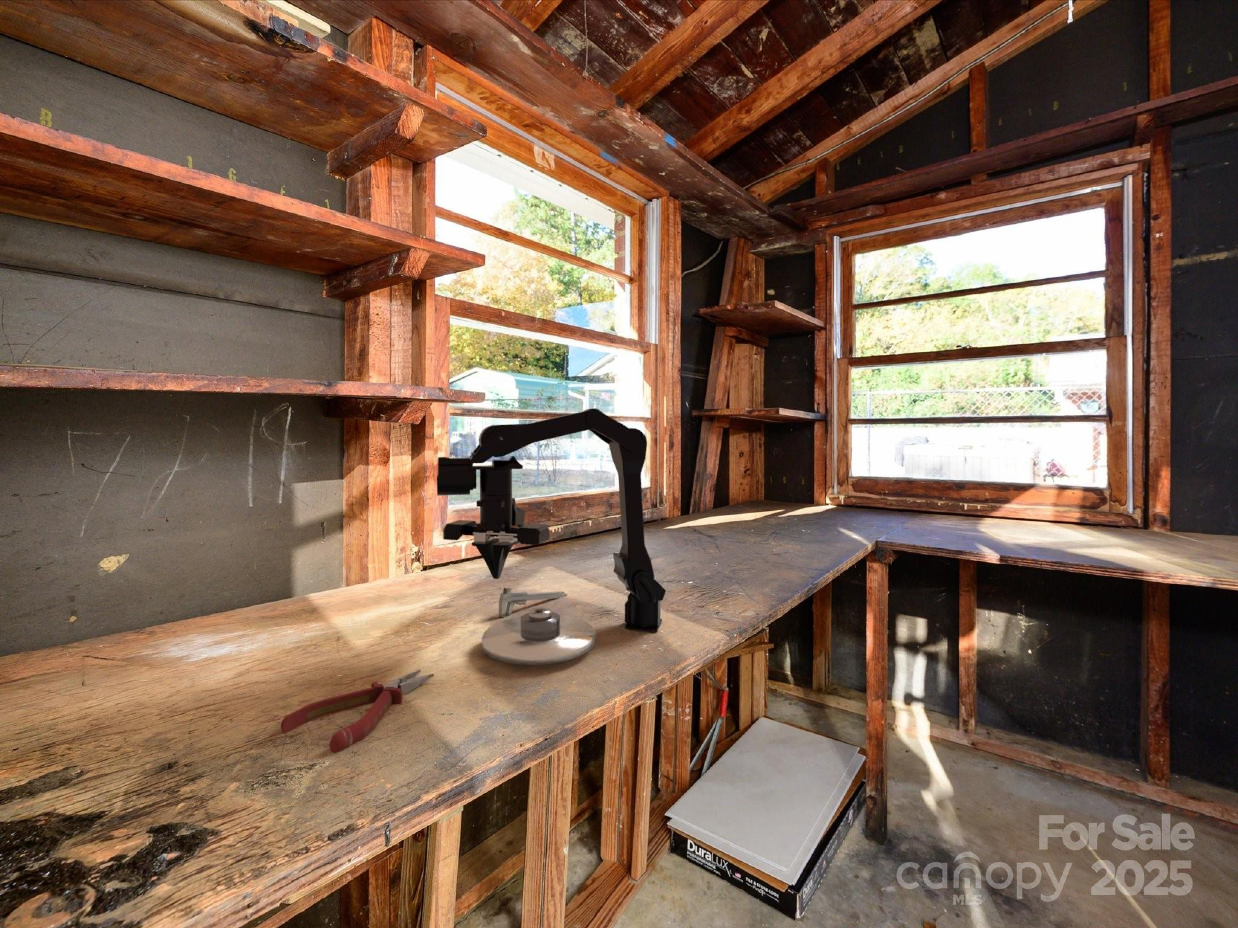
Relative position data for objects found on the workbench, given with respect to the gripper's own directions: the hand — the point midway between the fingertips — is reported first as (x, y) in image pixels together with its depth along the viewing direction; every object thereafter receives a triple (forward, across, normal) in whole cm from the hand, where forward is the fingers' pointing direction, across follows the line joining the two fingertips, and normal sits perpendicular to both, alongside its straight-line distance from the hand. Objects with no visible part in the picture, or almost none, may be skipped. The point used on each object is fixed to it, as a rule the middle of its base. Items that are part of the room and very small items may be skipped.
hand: (496, 578), depth 99 cm
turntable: (+11, -9, +1) cm, 14 cm away
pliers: (+12, +5, +27) cm, 31 cm away
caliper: (+12, +1, -21) cm, 25 cm away
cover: (+9, -9, +1) cm, 13 cm away
